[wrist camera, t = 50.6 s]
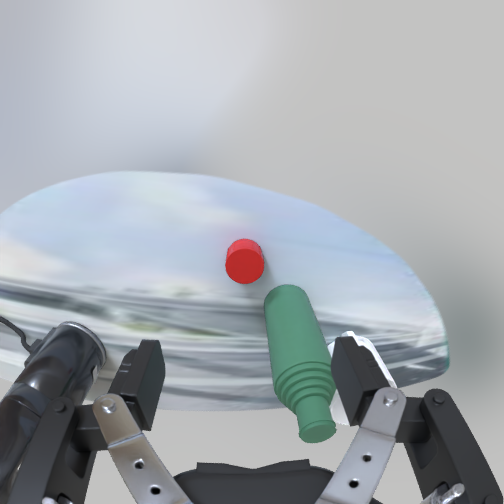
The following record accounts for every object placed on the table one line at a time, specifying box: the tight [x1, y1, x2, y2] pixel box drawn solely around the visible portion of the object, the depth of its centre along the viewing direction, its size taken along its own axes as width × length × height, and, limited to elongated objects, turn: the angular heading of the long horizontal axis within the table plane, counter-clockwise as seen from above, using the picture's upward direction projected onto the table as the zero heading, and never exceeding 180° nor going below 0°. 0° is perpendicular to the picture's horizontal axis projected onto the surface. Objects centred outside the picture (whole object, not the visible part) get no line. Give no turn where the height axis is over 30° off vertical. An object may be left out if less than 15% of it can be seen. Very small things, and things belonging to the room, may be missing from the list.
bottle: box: [264, 285, 337, 443], centre depth 27 cm, size 6×6×20 cm
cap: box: [225, 239, 264, 284], centre depth 32 cm, size 4×4×3 cm
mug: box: [327, 331, 397, 425], centre depth 35 cm, size 12×9×9 cm
